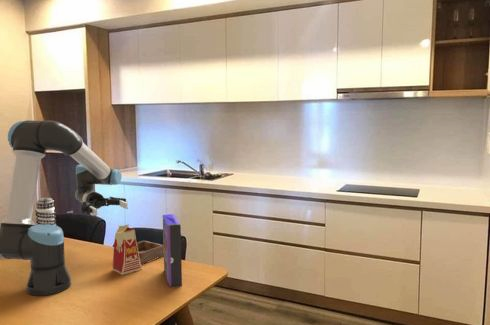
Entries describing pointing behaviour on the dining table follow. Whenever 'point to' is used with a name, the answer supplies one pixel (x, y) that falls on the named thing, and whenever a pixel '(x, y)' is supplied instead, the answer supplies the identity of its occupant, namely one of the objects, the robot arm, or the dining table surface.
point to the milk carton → (125, 251)
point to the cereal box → (172, 250)
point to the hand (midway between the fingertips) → (111, 209)
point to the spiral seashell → (45, 211)
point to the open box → (149, 251)
